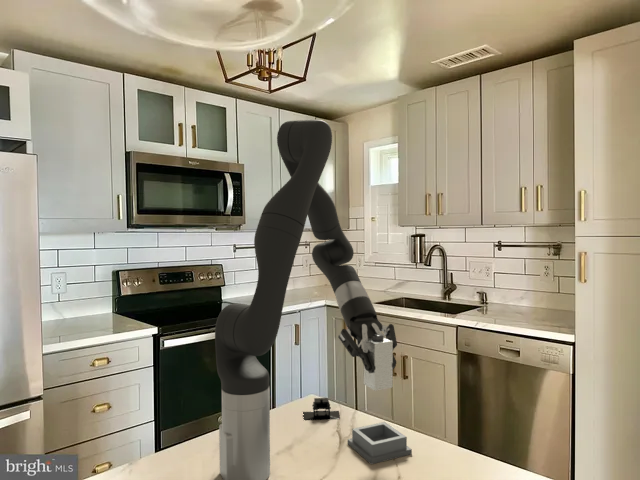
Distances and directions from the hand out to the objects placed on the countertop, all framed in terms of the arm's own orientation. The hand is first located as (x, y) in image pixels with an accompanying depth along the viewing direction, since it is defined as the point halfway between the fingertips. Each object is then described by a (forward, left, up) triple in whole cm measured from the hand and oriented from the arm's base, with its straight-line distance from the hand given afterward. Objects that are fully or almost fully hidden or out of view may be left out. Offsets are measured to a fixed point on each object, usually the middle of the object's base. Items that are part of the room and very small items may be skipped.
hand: (382, 369), depth 98 cm
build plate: (-4, +23, -19) cm, 30 cm away
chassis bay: (0, +2, -18) cm, 18 cm away
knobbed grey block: (0, +2, -4) cm, 5 cm away
